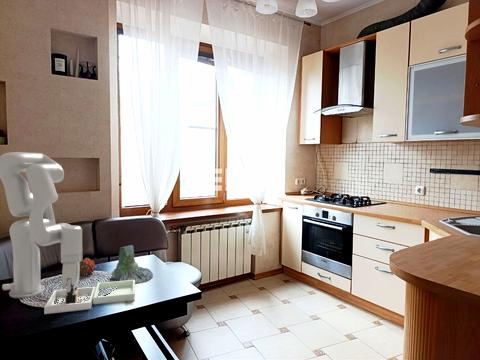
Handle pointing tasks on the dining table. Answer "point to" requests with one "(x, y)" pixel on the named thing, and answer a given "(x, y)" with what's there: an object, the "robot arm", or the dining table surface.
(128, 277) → the tree stump
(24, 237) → the robot arm
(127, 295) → the sage bin
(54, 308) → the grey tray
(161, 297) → the dining table surface
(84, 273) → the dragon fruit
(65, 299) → the birch block
